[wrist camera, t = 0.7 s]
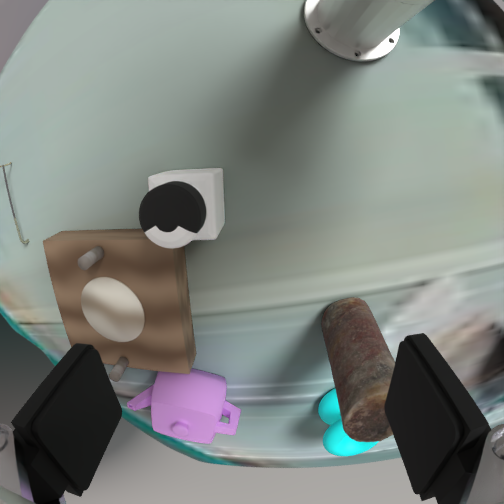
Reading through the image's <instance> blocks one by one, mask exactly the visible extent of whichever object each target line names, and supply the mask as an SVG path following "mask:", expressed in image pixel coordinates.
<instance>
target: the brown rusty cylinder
mask: <svg viewBox="0 0 504 504" xmlns="http://www.w3.org/2000/svg"><path fill="white" fill-rule="evenodd" d="M321 325H322V331H323V335H324V340H325V344H326V348H327V353H328V357H329V361H330V365H331V370H332V375H333V379H334V383H335V389H336V394H337V399H338V404H339V409H340V414H341V419H342V425H343V430H344V431H345V433H346V434H347V435H348V436H349V437H350V438H351V439H353V440H355V441H358V442H376V441H382V440H383V439H385V438H388V437H389V436H391V435H393V433H392V430H391V427H390V425H389V422H388V419H387V417H386V414H385V409H384V406H385V401H386V397H387V394H388V390H389V386H390V382H391V378H392V374H393V370H394V366H395V361H394V359H393V357H392V355H391V353H390V351H389V349H388V346H387V344H386V342H385V340H384V338H383V336H382V334H381V331H380V329H379V327H378V325H377V323H376V320H375V318H374V316H373V314H372V312H371V310H370V309H369V307H368V305H367V304H366V302H365V301H363V300H361V299H360V298H354V297H351V298H347V299H343V300H339V301H337V302H334V303H332V304H331V305H330V306H328V308H327V309H326V311H325V312H324V315H323V318H322V323H321Z"/></svg>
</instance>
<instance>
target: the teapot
mask: <svg viewBox="0 0 504 504" xmlns="http://www.w3.org/2000/svg"><path fill="white" fill-rule="evenodd" d="M226 389H227V385H226V380H225V378H224V377H222V376H219V375H216V374H212V373H209V372H205V371H201V370H197V369H192V368H191V372H190V374H182V373H172V372H162V371H159V372H158V374H157V377H156V380H155V383H154V384H153V385H152V386H150V387H149V388H148V389H146V390H145V391H143V392H142V393H140V394H139V395H137V396H136V397H135V398H133V399H132V400H130V401H129V402H127V406H128V408H130V409H132V410H134V411H136V410H138V409H141V408H144V407H147V406H150V405H151V417H152V427H153V430H154V431H156V432H159V433H161V434H164V435H168V436H171V437H175V438H179V439H183V440H188V441H193V442H199V443H207V444H208V443H211V442H212V441H213V439H214V436H215V434H216V433H221V434H229V435H235V433H236V430H237V426H238V421H239V417H240V413H241V409H239V408H237V407H236V406H234V405H232V404H231V403H229V402H227V401H226V400H225V398H226ZM222 415H224V416H226V417H228V418H229V424H227V423H223V422H220V420H221V416H222Z"/></svg>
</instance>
